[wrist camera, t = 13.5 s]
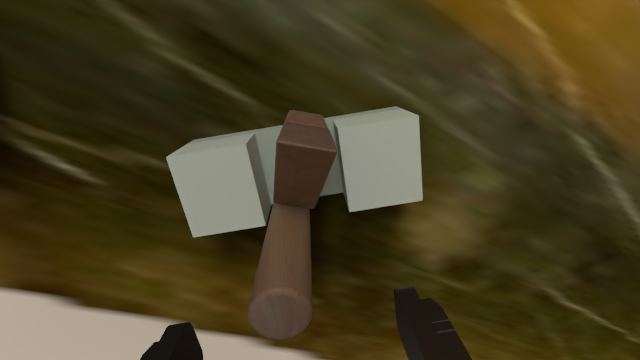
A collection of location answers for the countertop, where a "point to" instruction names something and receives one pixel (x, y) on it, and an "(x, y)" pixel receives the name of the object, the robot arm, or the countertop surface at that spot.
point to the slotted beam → (259, 166)
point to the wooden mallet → (291, 228)
